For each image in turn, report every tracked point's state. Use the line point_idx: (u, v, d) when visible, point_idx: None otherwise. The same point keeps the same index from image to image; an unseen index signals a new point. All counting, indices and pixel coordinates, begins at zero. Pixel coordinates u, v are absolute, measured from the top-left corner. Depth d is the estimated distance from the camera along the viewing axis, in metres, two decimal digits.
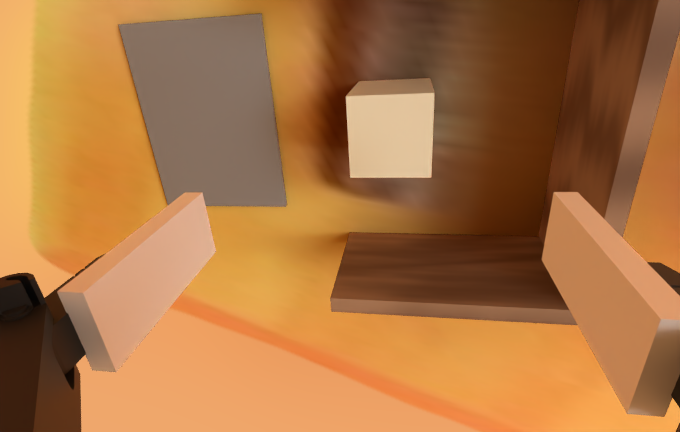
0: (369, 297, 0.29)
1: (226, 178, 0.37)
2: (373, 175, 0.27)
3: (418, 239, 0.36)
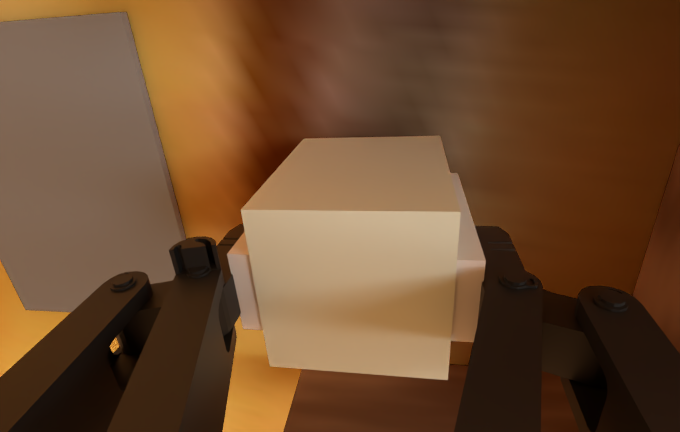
0: None
1: (106, 276, 0.23)
2: (319, 366, 0.12)
3: None
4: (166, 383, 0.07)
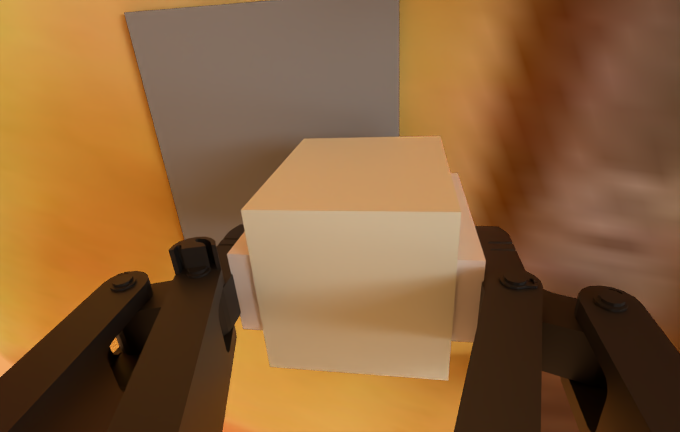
0: None
1: None
2: (319, 366, 0.12)
3: None
4: (166, 383, 0.07)
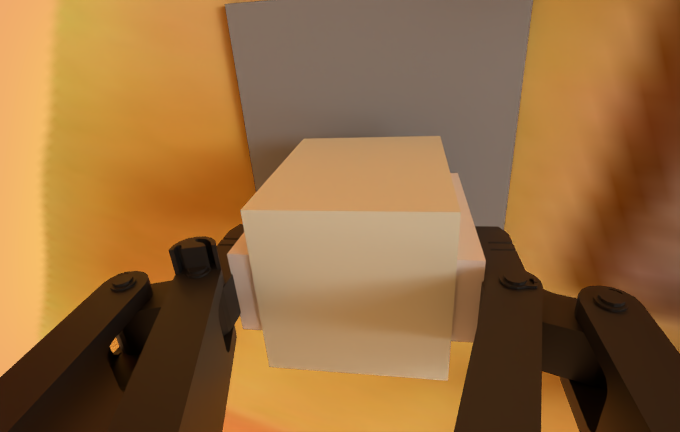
0: None
1: None
2: (318, 366, 0.12)
3: None
4: (166, 383, 0.07)
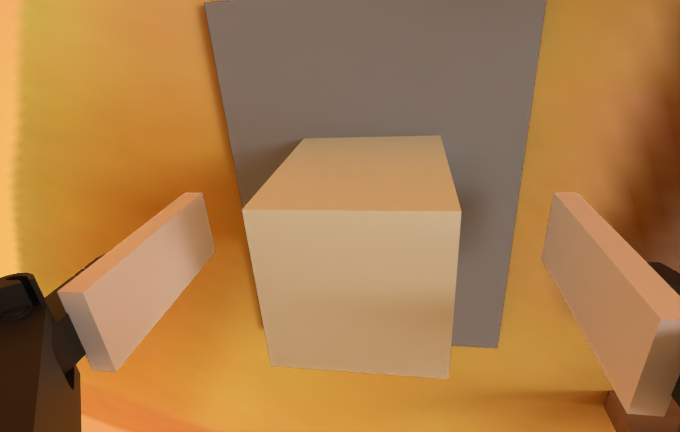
0: None
1: None
2: (320, 365, 0.12)
3: None
4: (2, 429, 0.07)
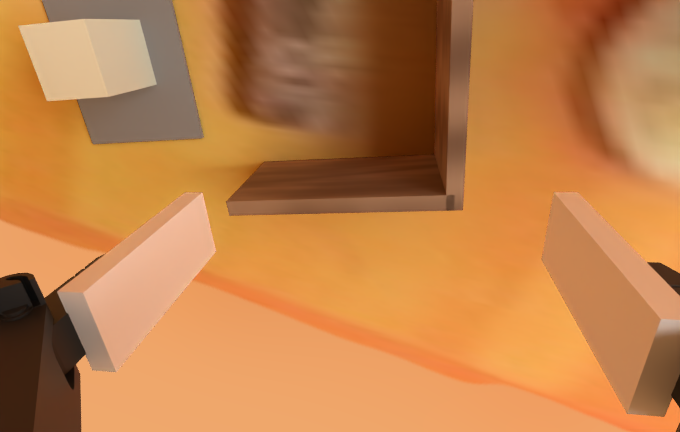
0: (262, 199, 0.31)
1: (144, 112, 0.39)
2: (64, 97, 0.32)
3: (325, 162, 0.38)
4: (2, 429, 0.07)
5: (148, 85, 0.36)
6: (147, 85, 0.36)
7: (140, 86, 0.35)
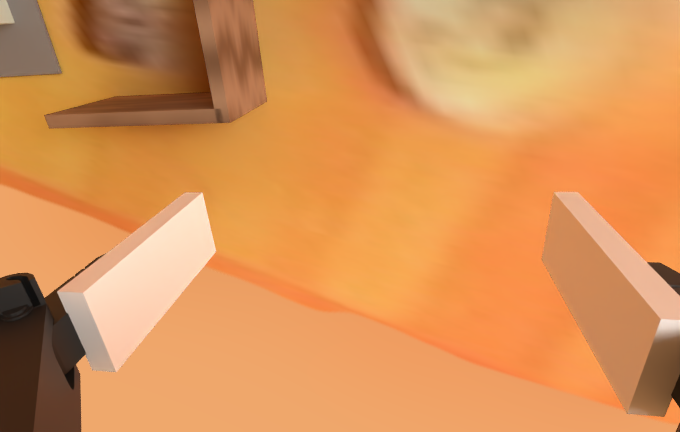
0: (73, 113, 0.36)
1: (8, 49, 0.44)
2: None
3: (161, 95, 0.43)
4: (2, 429, 0.07)
5: (3, 22, 0.42)
6: (1, 22, 0.42)
7: None
